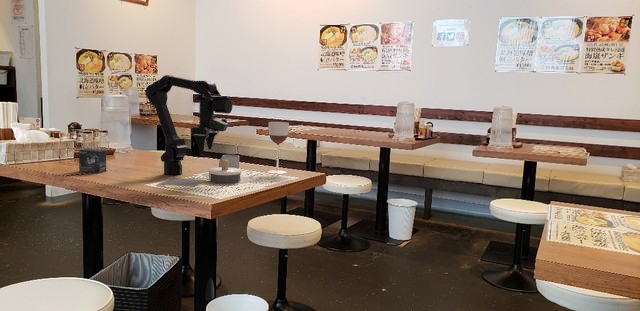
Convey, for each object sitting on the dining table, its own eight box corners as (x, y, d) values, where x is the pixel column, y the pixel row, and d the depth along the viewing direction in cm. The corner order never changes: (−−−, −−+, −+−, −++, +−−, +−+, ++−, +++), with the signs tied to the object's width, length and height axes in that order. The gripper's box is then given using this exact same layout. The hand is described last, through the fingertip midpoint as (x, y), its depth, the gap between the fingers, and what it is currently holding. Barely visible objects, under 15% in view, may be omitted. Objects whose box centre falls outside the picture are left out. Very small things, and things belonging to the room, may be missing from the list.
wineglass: (263, 172, 224) (264, 122, 221) (273, 169, 234) (275, 121, 231) (281, 174, 221) (282, 123, 218) (290, 171, 230) (292, 122, 227)
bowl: (205, 183, 192) (205, 173, 192) (215, 178, 204) (215, 169, 203) (234, 185, 191) (235, 175, 190) (243, 180, 203) (243, 171, 202)
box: (78, 172, 206) (78, 149, 205) (86, 170, 211) (86, 148, 210) (99, 173, 204) (98, 151, 203) (106, 171, 210) (106, 149, 209)
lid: (203, 174, 191) (203, 161, 191) (214, 168, 204) (214, 157, 203) (236, 176, 190) (236, 163, 189) (244, 170, 203) (245, 158, 202)
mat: (158, 185, 185) (158, 184, 185) (173, 179, 199) (173, 177, 199) (194, 188, 183) (194, 186, 183) (207, 181, 197) (207, 180, 197)
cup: (231, 178, 206) (231, 157, 205) (213, 175, 211) (213, 155, 210) (242, 176, 212) (242, 156, 211) (224, 173, 217) (224, 153, 216)
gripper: (218, 114, 188) (217, 154, 190) (232, 112, 206) (232, 149, 208) (190, 112, 189) (190, 152, 191) (207, 111, 207) (206, 147, 209)
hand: (206, 150), depth 200 cm, fingers open, 9 cm apart
